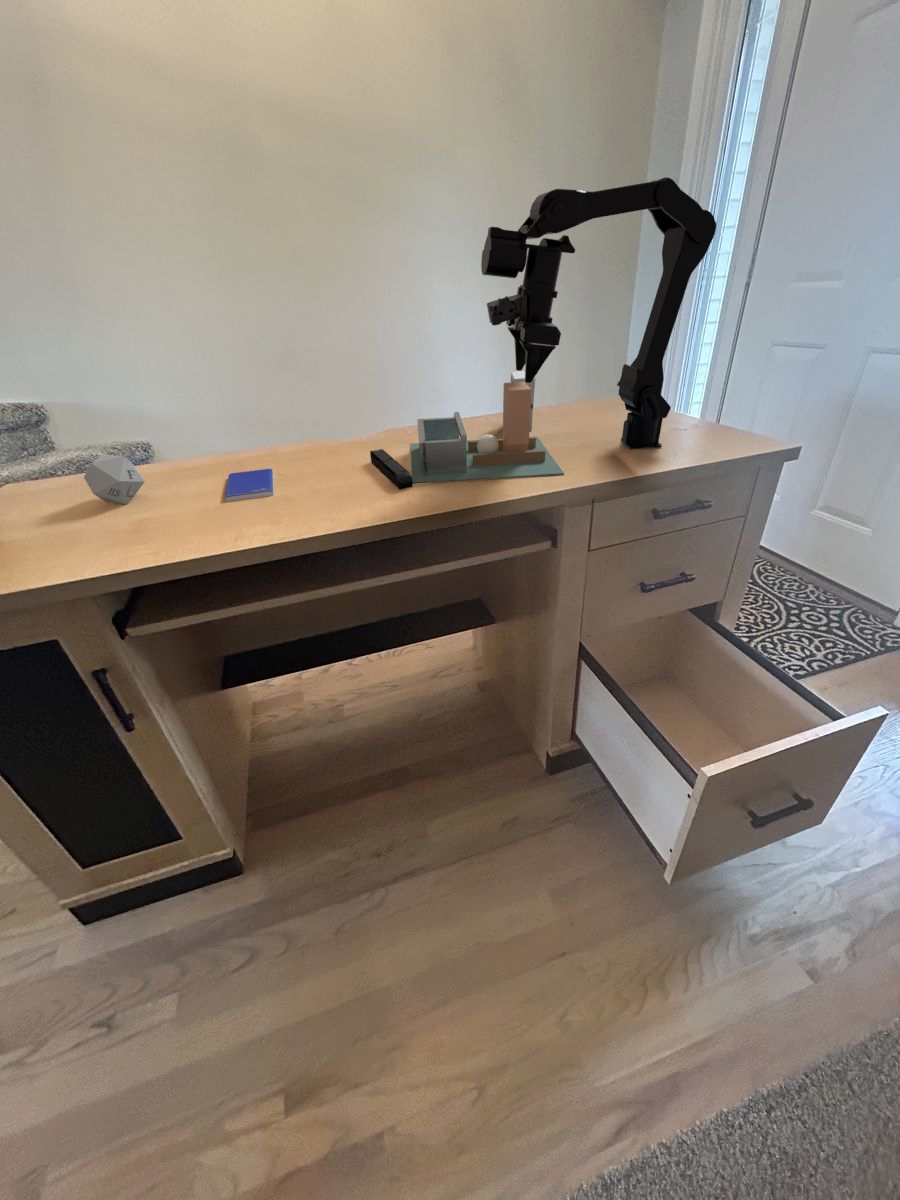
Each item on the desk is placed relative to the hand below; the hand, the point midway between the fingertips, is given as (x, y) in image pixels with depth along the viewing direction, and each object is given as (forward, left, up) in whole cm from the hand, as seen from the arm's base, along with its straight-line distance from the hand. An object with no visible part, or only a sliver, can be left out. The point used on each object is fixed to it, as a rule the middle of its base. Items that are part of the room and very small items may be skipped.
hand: (523, 376), depth 101 cm
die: (+75, +13, -15) cm, 77 cm away
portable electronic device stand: (+27, +8, -15) cm, 32 cm away
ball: (+7, +2, -12) cm, 14 cm away
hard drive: (+52, +10, -16) cm, 56 cm away
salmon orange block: (+2, +2, -15) cm, 15 cm away
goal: (+17, +2, -15) cm, 22 cm away
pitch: (+9, +2, -15) cm, 17 cm away
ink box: (-3, -19, -15) cm, 24 cm away
